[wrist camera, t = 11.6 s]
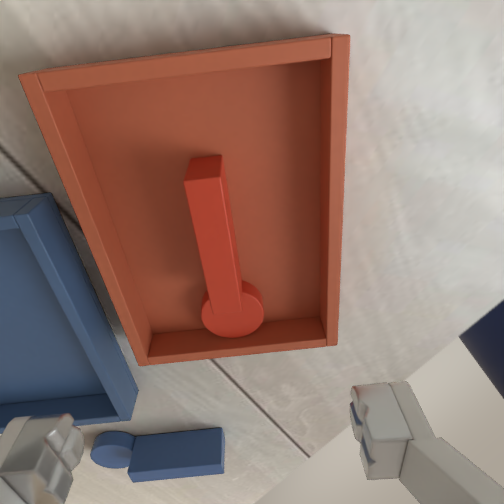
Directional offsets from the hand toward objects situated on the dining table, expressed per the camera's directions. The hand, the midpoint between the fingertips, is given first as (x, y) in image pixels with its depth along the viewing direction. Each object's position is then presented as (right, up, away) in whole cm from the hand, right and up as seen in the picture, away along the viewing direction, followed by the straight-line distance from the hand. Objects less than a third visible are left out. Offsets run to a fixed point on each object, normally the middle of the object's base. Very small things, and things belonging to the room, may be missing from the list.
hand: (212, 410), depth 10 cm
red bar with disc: (0, +4, +10) cm, 11 cm away
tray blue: (-15, 0, +12) cm, 19 cm away
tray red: (-1, +6, +9) cm, 11 cm away
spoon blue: (-8, -12, +20) cm, 25 cm away
